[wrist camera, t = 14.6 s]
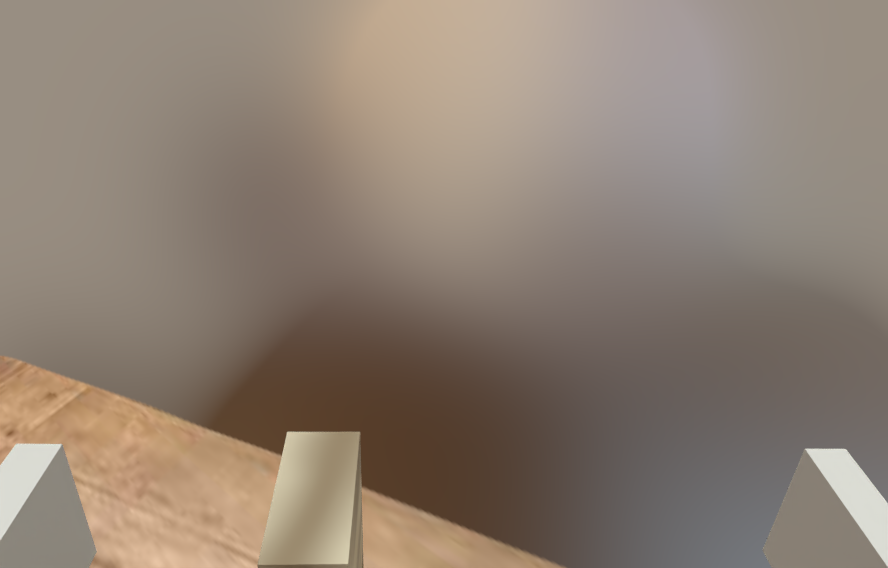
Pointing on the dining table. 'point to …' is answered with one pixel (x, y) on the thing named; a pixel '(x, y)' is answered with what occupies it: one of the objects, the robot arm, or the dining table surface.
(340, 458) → the tall grained pillar
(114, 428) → the dining table surface
